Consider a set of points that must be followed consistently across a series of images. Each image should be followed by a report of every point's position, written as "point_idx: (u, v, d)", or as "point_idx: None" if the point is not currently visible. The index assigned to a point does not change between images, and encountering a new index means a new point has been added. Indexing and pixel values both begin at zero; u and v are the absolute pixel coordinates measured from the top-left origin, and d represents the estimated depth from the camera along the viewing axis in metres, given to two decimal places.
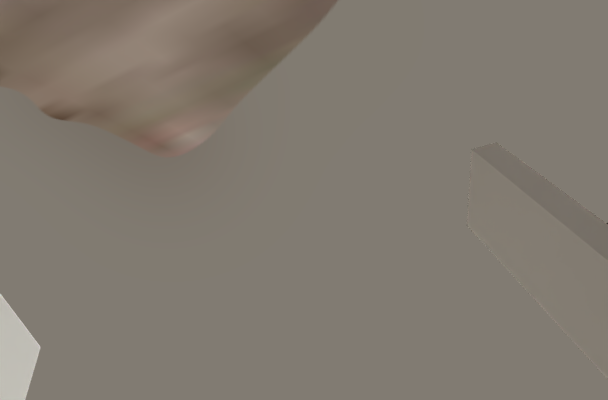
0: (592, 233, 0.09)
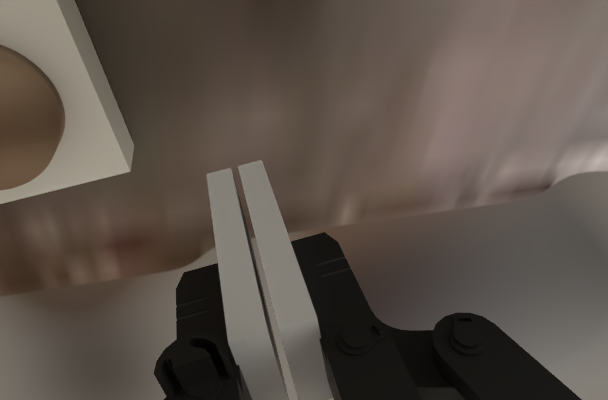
0: (271, 245, 0.11)
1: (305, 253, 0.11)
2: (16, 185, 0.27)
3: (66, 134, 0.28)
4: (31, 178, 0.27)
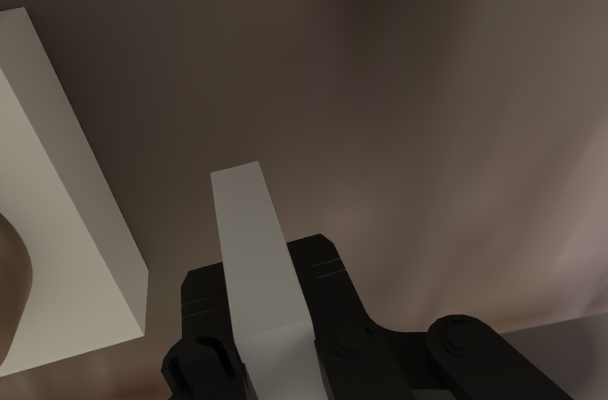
0: (266, 247, 0.11)
1: (301, 254, 0.11)
2: None
3: (35, 293, 0.16)
4: None
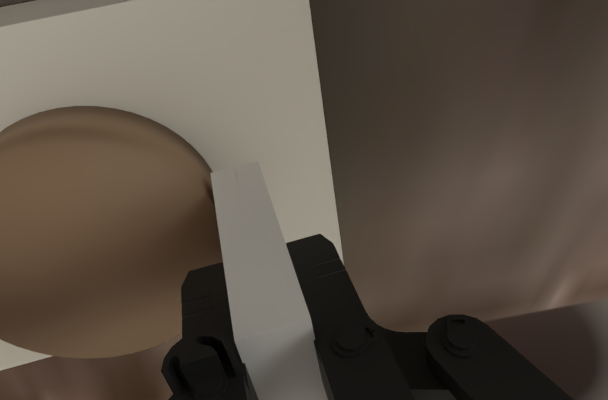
0: (266, 247, 0.11)
1: (301, 254, 0.11)
2: (157, 343, 0.16)
3: None
4: None
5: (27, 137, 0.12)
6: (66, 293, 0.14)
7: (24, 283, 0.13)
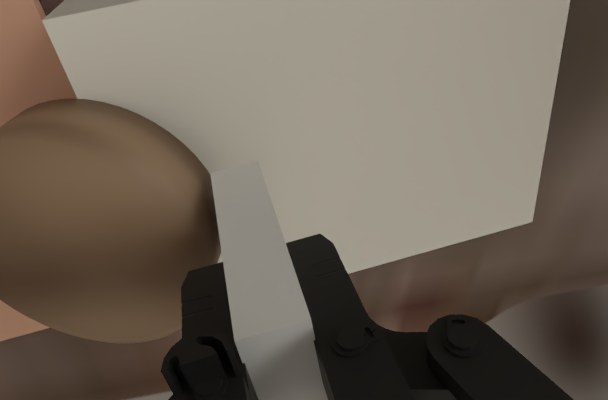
0: (266, 247, 0.11)
1: (301, 254, 0.11)
2: (137, 340, 0.16)
3: (484, 170, 0.18)
4: (160, 335, 0.15)
5: (19, 127, 0.12)
6: (53, 276, 0.14)
7: (16, 259, 0.14)
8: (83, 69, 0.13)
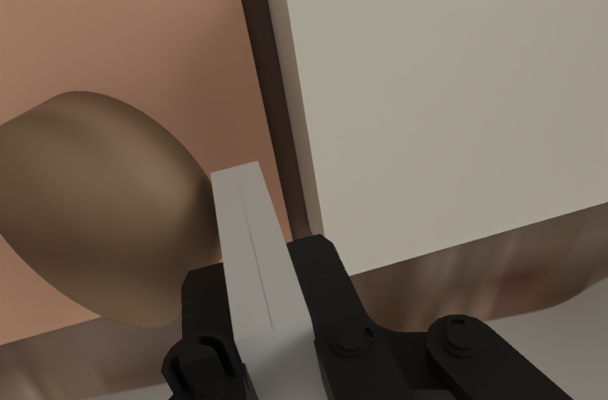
0: (266, 247, 0.11)
1: (301, 254, 0.11)
2: (134, 324, 0.17)
3: None
4: (152, 325, 0.16)
5: (31, 117, 0.13)
6: (62, 253, 0.15)
7: (33, 232, 0.15)
8: (307, 23, 0.14)
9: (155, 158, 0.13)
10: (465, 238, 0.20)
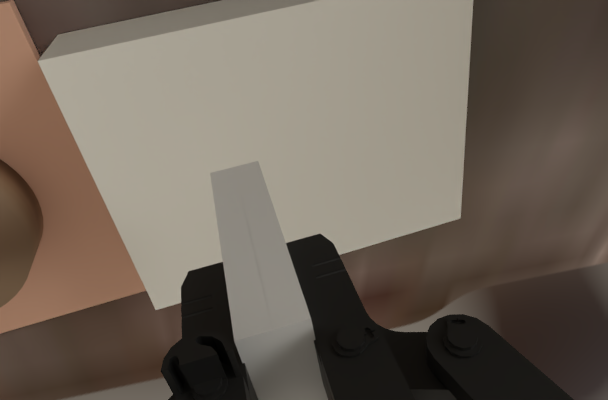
0: (266, 247, 0.11)
1: (301, 254, 0.11)
2: None
3: (413, 174, 0.22)
4: (1, 304, 0.20)
5: None
6: None
7: None
8: (71, 98, 0.16)
9: None
10: None
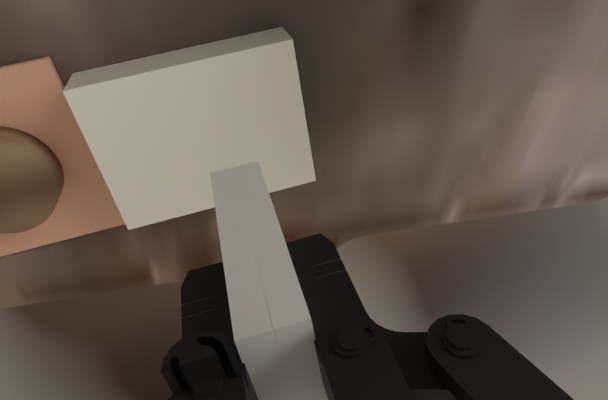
0: (266, 247, 0.11)
1: (301, 254, 0.11)
2: (29, 228, 0.36)
3: (278, 152, 0.37)
4: (39, 223, 0.36)
5: None
6: None
7: None
8: (78, 109, 0.32)
9: (31, 142, 0.34)
10: (201, 208, 0.38)
